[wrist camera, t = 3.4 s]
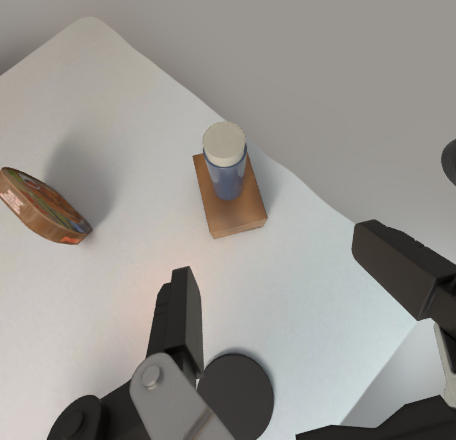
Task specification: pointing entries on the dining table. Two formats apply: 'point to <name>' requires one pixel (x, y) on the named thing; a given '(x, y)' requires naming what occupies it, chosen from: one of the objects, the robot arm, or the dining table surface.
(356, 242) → the robot arm
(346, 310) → the dining table surface
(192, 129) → the dining table surface
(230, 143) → the cylinder
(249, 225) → the shelf
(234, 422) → the mat
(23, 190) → the tin
